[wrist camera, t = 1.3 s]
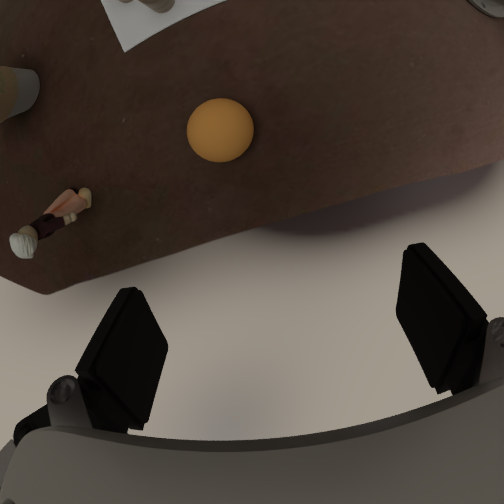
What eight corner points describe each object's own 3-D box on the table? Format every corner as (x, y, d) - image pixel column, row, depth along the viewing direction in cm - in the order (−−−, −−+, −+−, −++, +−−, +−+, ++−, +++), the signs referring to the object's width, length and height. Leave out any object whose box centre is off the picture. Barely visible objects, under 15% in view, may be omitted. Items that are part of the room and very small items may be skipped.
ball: (240, 89, 24) (234, 86, 19) (263, 141, 27) (264, 152, 22) (185, 113, 26) (167, 118, 20) (210, 164, 28) (197, 180, 23)
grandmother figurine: (90, 175, 29) (21, 220, 18) (103, 202, 31) (41, 257, 20) (53, 198, 30) (-9, 245, 20) (65, 222, 32) (8, 274, 21)
